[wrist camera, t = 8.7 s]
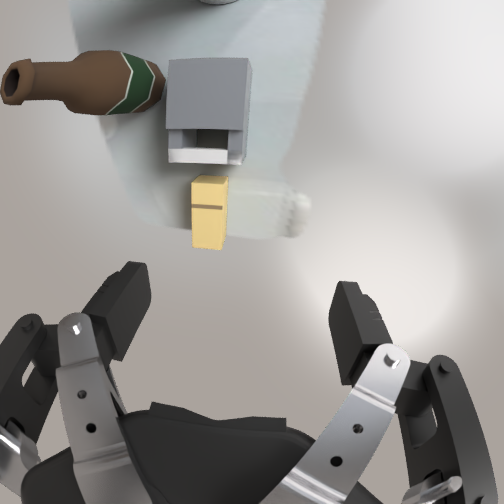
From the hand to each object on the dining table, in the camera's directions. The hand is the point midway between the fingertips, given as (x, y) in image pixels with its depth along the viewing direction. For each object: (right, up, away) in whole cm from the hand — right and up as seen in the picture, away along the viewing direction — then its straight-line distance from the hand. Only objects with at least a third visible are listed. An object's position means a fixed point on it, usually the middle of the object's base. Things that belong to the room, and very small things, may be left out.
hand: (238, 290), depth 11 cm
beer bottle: (-15, +25, +20) cm, 35 cm away
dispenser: (-4, +20, +21) cm, 30 cm away
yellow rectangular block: (-5, +8, +28) cm, 29 cm away
